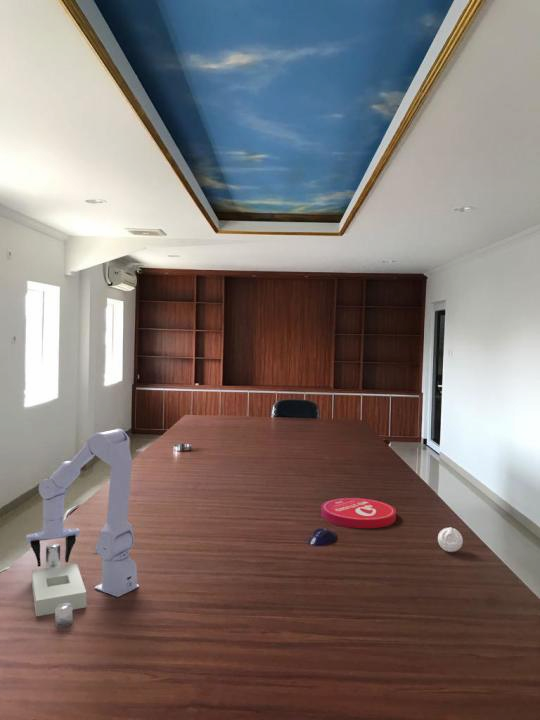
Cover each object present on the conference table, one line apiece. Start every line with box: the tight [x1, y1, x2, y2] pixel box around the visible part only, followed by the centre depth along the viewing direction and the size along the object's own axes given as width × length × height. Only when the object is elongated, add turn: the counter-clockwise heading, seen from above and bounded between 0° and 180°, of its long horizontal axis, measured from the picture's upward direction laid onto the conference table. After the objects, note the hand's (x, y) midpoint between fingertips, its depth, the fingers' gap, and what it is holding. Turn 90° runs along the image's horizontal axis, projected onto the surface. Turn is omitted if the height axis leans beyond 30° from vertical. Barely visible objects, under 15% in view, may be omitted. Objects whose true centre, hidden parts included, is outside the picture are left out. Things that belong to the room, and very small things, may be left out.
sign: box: [320, 497, 397, 529], centre depth 222 cm, size 30×4×30 cm
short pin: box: [54, 603, 74, 628], centre depth 133 cm, size 4×4×4 cm
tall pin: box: [45, 543, 61, 568], centre depth 162 cm, size 4×4×8 cm
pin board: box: [31, 563, 87, 617], centre depth 147 cm, size 20×12×4 cm, turn 26°
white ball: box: [437, 527, 464, 553], centre depth 185 cm, size 8×8×8 cm
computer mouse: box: [307, 527, 338, 547], centre depth 195 cm, size 9×15×4 cm, turn 139°
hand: (53, 563), depth 162 cm, fingers open, 7 cm apart
